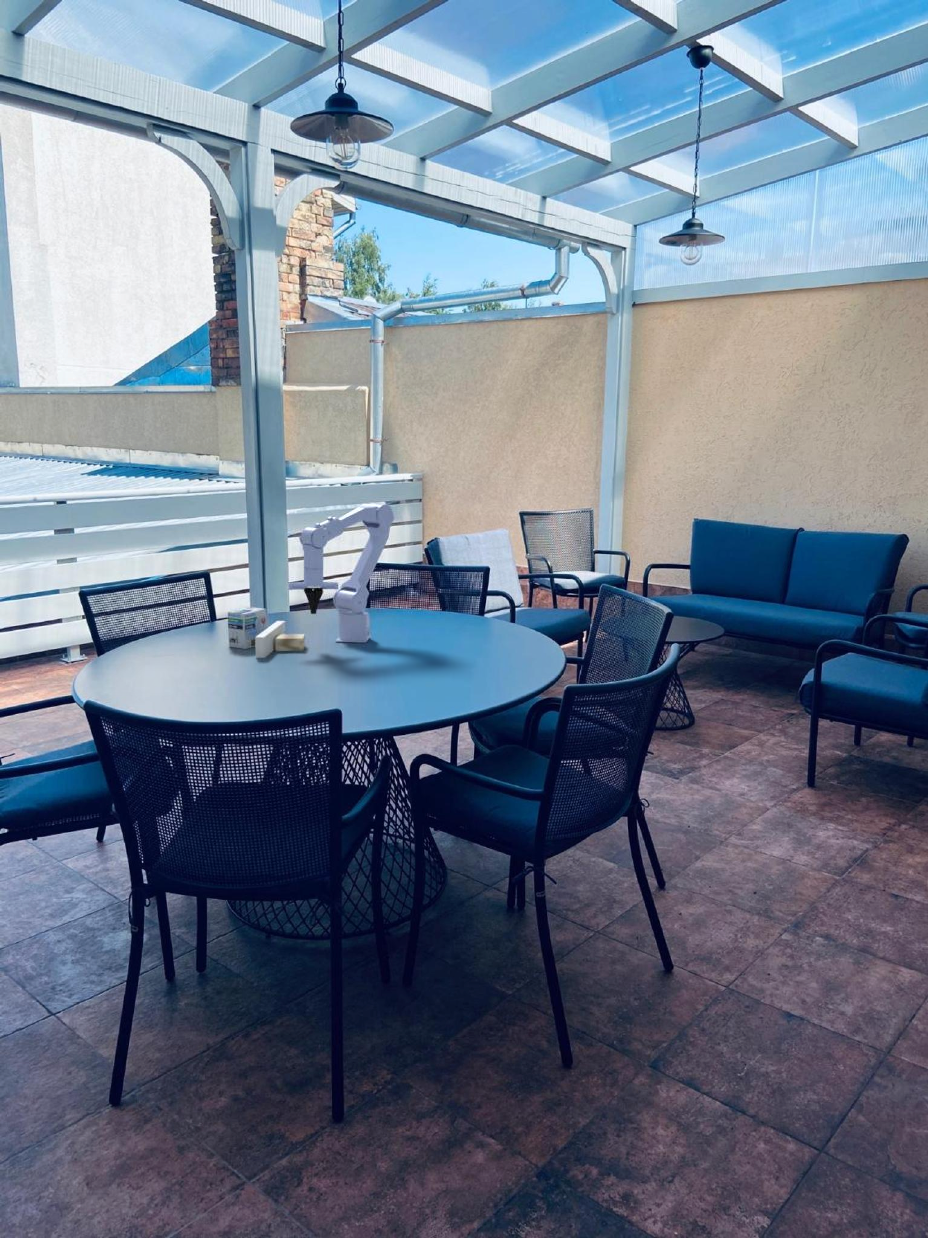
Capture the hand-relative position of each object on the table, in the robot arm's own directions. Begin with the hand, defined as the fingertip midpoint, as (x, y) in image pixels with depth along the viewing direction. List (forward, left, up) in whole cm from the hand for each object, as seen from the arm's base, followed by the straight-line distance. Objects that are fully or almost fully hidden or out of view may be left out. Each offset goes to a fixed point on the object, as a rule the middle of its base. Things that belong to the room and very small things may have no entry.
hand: (313, 613), depth 267 cm
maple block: (+7, +3, -11) cm, 13 cm away
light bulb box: (+20, -1, -11) cm, 23 cm away
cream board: (+12, +3, -10) cm, 16 cm away
